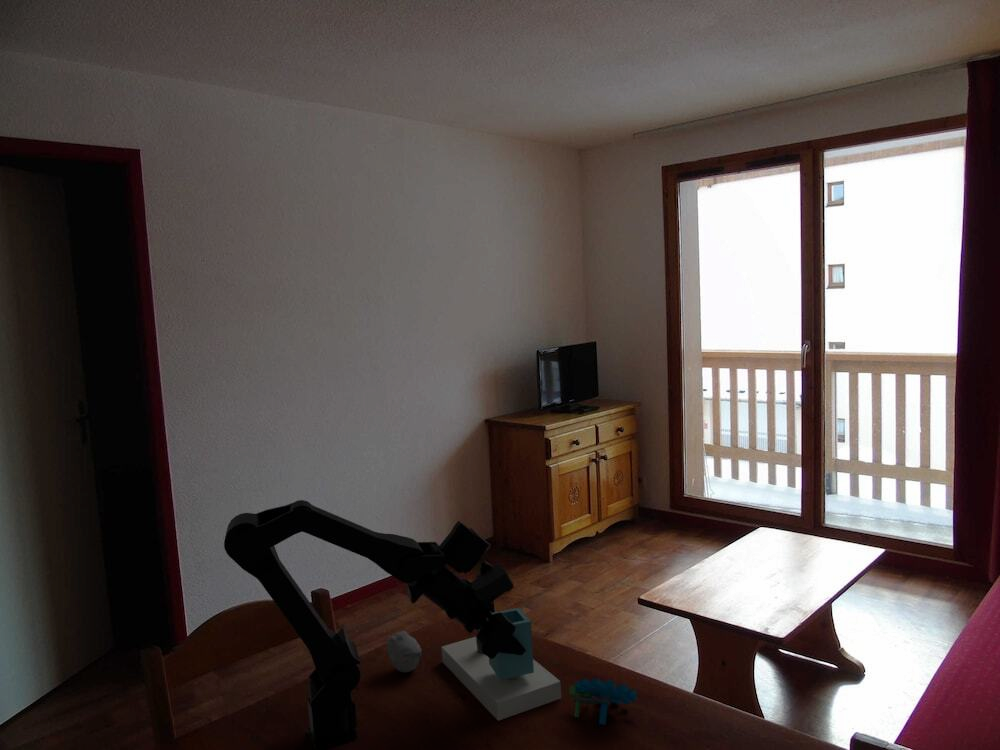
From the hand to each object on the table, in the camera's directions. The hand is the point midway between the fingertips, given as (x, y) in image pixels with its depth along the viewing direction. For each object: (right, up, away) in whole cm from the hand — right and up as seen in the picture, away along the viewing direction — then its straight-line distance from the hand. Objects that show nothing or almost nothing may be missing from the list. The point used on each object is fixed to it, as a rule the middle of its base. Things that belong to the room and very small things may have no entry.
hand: (517, 644), depth 122 cm
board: (-3, -8, +5) cm, 10 cm away
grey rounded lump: (-21, -9, +10) cm, 25 cm away
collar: (-1, -4, 0) cm, 4 cm away
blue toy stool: (+14, -9, -7) cm, 18 cm away
